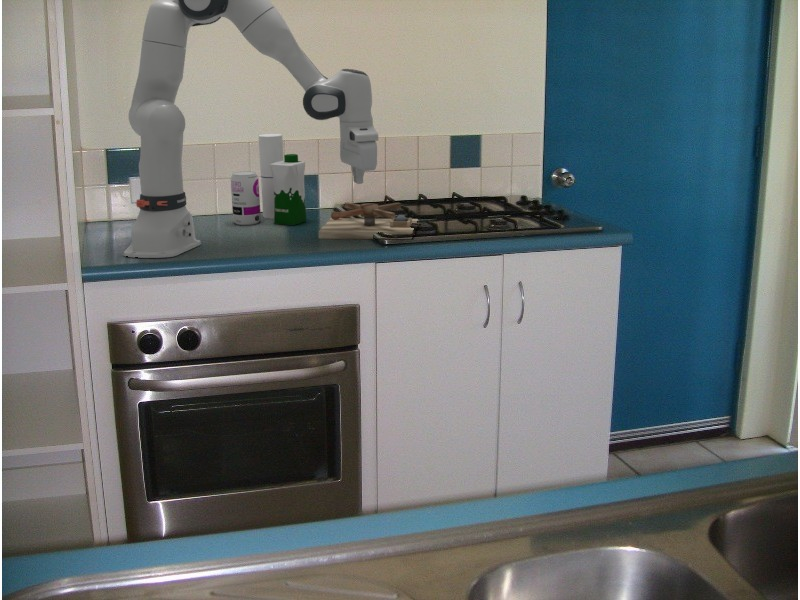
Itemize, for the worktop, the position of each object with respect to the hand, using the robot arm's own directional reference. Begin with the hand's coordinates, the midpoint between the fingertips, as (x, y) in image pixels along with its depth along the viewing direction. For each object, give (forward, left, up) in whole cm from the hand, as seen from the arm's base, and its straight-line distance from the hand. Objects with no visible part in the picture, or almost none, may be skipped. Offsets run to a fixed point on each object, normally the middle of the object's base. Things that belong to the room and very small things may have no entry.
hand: (358, 183), depth 249 cm
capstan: (+9, -1, -11) cm, 14 cm away
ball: (+9, -10, -12) cm, 18 cm away
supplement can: (+20, +38, -16) cm, 45 cm away
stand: (+9, -1, -16) cm, 18 cm away
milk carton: (+21, +25, -16) cm, 36 cm away
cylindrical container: (+30, +32, -16) cm, 46 cm away
